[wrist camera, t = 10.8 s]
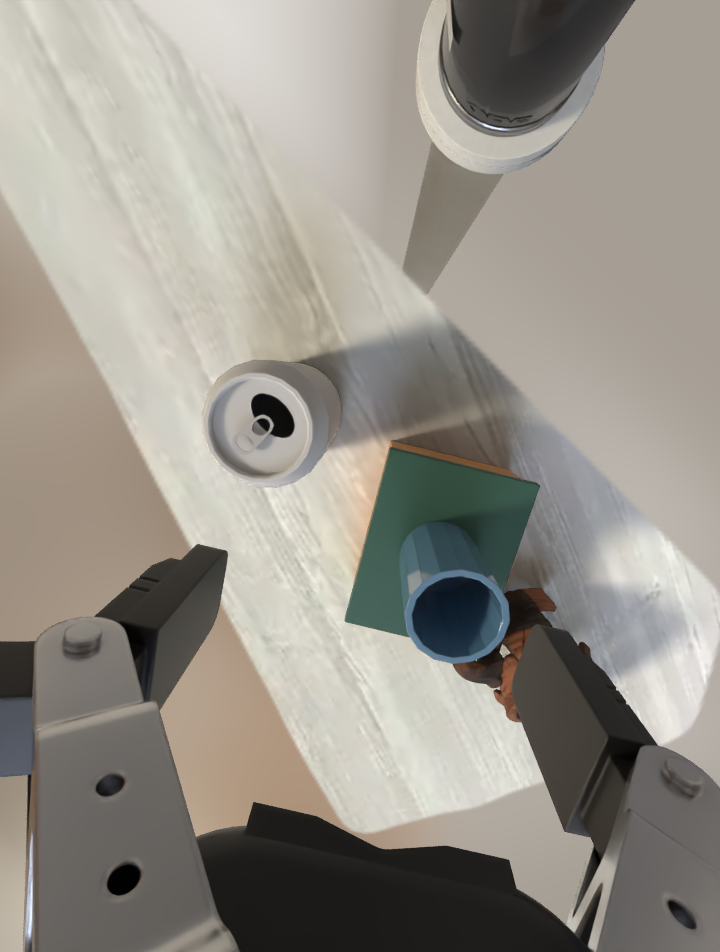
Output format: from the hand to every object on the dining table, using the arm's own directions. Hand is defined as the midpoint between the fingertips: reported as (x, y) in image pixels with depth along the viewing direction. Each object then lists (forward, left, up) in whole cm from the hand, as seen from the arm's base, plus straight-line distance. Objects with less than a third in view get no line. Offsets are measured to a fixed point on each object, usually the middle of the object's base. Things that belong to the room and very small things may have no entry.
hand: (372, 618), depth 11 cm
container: (+6, +6, -26) cm, 27 cm away
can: (-1, -7, -26) cm, 27 cm away
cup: (+6, +6, -20) cm, 21 cm away
